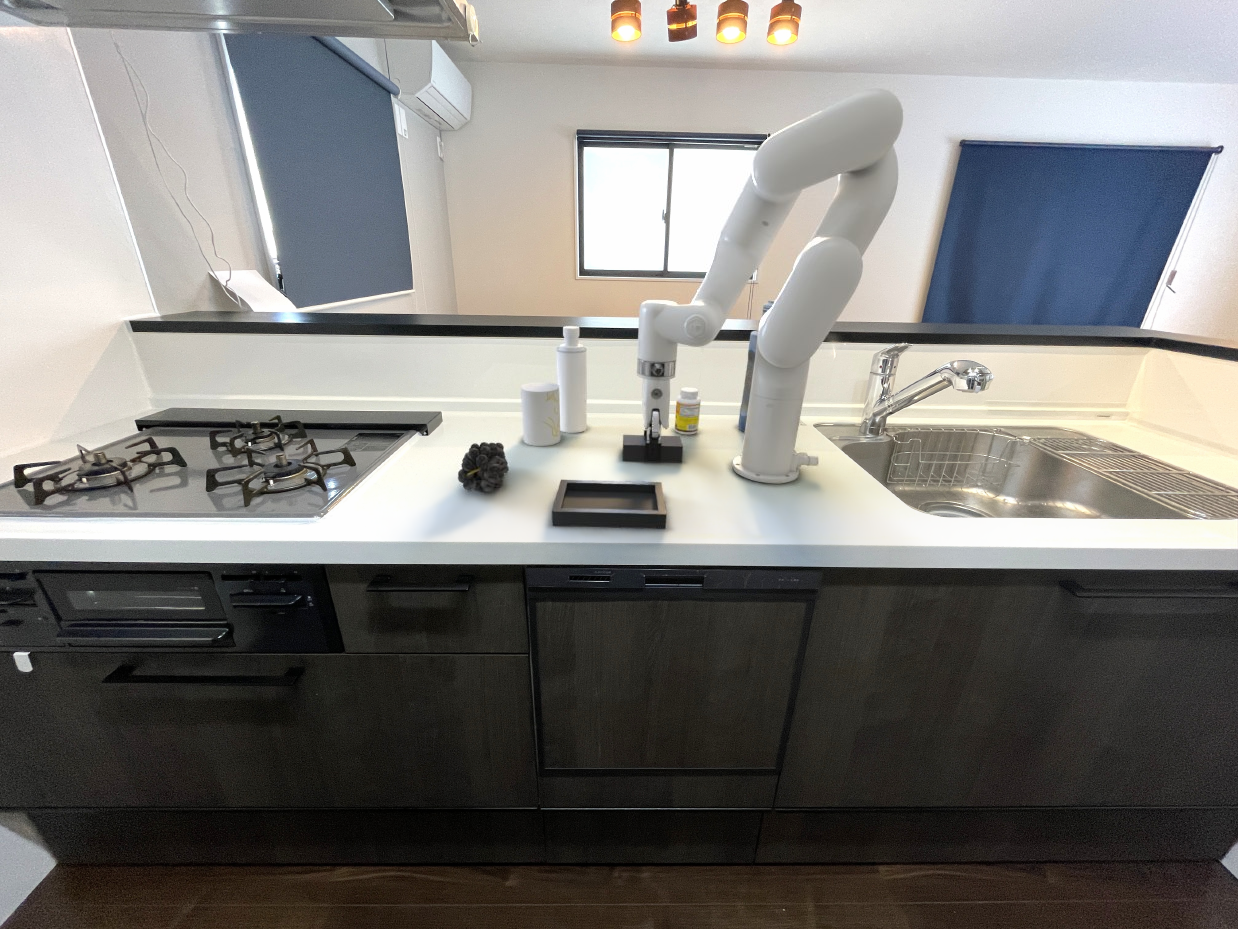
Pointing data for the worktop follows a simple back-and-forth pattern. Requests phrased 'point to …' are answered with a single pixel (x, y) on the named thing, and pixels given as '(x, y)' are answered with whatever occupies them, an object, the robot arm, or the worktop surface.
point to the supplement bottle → (687, 411)
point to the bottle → (750, 371)
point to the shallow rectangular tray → (609, 504)
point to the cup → (541, 413)
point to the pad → (636, 448)
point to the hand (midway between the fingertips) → (651, 453)
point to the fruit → (483, 467)
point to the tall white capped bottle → (572, 382)
